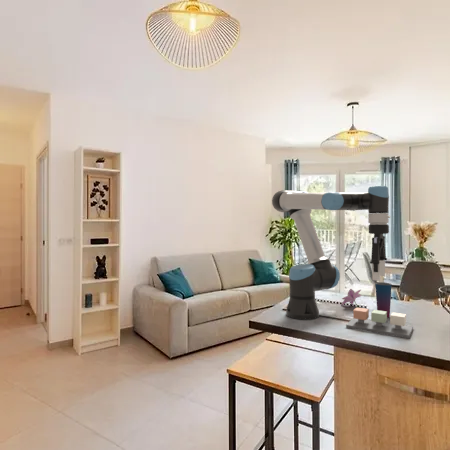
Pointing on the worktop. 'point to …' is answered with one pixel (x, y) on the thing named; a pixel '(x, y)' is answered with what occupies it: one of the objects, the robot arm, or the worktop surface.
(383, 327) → the board
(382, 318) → the sage key
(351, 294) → the lily
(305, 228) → the robot arm
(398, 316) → the cream key
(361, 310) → the terracotta key
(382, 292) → the cup
